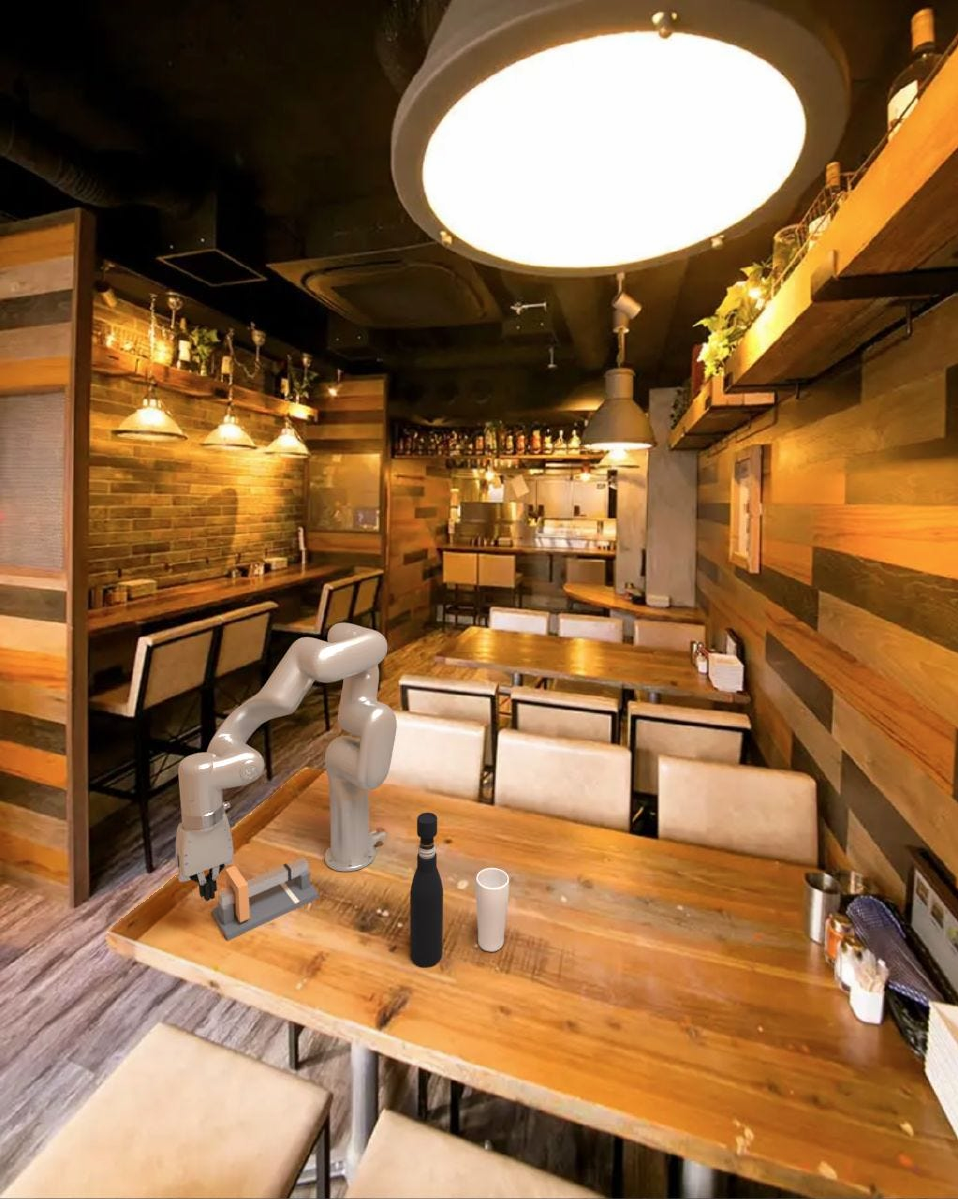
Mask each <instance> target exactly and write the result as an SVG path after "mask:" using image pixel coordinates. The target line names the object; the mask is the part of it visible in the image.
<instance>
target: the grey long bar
mask: <svg viewBox="0 0 958 1199" xmlns="http://www.w3.org/2000/svg"><path fill="white" fill-rule="evenodd" d="M309 870H310V869H309V861H308V860H307V859H306V858H305V857H304V856H302V857H301V858H298V859H296V860H294V861H291V862H289V863H284V864H282V865H281V866H279V867H277V868H274V869H271V870H269V871H267V872H265V873H262V874H260V875H257V876H255V877H252V878H250V879H248V880H245V881H246V882H247V883H248V891H249V897H251V896H253V895H256V894H258V893H260V892H263V891H265V890H267V889H269V888H272V887H274V886H276V885H279V884H281V883H283V882H286V881H290V880H292V879H293V878H295V877H297V876H299V875H302V874H304V873H306V872H310V871H309ZM217 896H218V901H219V904H220V905H221V907H222V909H223V908H226V907H228V906H230V905H233V904H235V903H236V898H235V891H234V890H233V888H232V887H230V888H228V889H227V888H226V889H224V890H221V891H219V892H218V894H217Z"/></svg>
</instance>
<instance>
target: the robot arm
mask: <svg viewBox="0 0 958 1199" xmlns="http://www.w3.org/2000/svg"><path fill="white" fill-rule="evenodd" d="M387 652H388V642H387V639H386V638H385V636H384V635H383V634H382V633H381V632H379V631H377V630H374V629H371V628H367V627H364V626H361V625H357V624H354V623H350V622H339V623H335V624H334V625H332V626H331V627H330V628H329V630H328V633H327V641H325V640H322V639H318V638H314V637H309V636H306V637H300V638H297V640H295V641H294V642H293V643H292V644H291V645H290V647H289V648H288V650H287V651H286V653H285V654H284V656H283V657H282V659H281V660H280V661H279V663H278V665H277V666H276V668H275V669H274V670H273V672H272V673H271V675H270V676H269V678H268V680H266V683H265V684H264V686H263V687H262V688H261V689H260V690H259V692H257V693H256V694H255V695H253V696H251V697H250V698H249V699H247V700H246V701H245V702H243V703H242V704H241V705H240V706H238V707H236V708H235V709H234V710H233V711H231V713H230V714H229V715H228V716H226V718H225V719H224V721H223V722H222V724H220V727H219V728H217V729H218V730H216V732H215V734H214V735H213V737H212V739H211V740H210V742H209V744H208V747H207V749H206V752H197V753H193V754H191V755H188V756H186V757H184V758H182V760H181V761H180V762H179V764H178V768H177V770H178V771H177V774H178V785H179V786H178V788H179V799H180V811H181V813H180V814H181V822H180V823H179V824H178V825H177V828H176V838H175V864H176V867H177V869H178V871H177V879H178V882H180V883H182V882H188V881H193V882H195V883H197V884H198V891H199V896H200V897H201V898H204V900H205V902H209V901H210V900H215V899H216V895H215V894H216V893H215V892H217V890H218V886H217V884H218V883H217V880H218V879H219V875H220V874H221V872H222V871H223V869H224V868H225V867H227V866H228V865H230V864H232V863H234V861H235V856H234V852H235V850H234V842H233V836H232V832H231V830H232V829H231V826H230V822H229V819H228V815H227V813H226V810H227V809H230V808H231V802H230V801H229V800H228V801H223V789H229V788H236V787H241V786H245V785H249V784H251V783H253V782H255V781H256V780H258V779H259V777H260V776H262V774H263V772H264V770H265V760H264V757H263V756H262V754H261V753H260V752H259V751H257V750H256V749H255V748H253V747H251V746H250V745H248V744H247V741H248V740H249V738H251V736H252V734H253V733H254V732H255V731H256V730H257V729H258V728H259V727H260V726H261V725H262V724H264V723H266V722H268V721H269V720H272V719H276V718H280V717H283V716H288V715H291V714H293V713H294V712H295V711H296V710H297V709H298V708H299V705H300V704H301V702H302V701H303V699H304V698H305V697H306V694H307V693H308V691H309V690H310V688H311V687H312V685H313V683H314V682H315V681H318V682H321V683H326V684H327V683H334V682H338V681H343V683H342V688H341V694H340V700H339V705H338V712H337V713H338V714H337V723H338V725H339V727H340V728H341V729H342V730H344V731H345V732H347V733H349V734H351V735H353V736H354V737H353V736H349V735H341V736H338V737H335V738H334V739H333V740H331V741H330V743H329V744H328V746H327V748H326V749H325V754H324V765H325V771H326V775H327V781H328V788H329V789H328V790H329V792H328V793H329V823H330V824H329V825H330V845H329V847H327V849H326V851H325V853H324V862H325V864H326V865H327V867H329V868H330V869H333V870H335V871H338V872H346V873H347V872H354V871H358V870H361V869H363V868H366V867H368V866H369V865H370V864H371V863H372V862H373V861H374V860H375V858H376V855H377V854H376V853H377V852H376V850H377V849H376V847H375V845H377V843H378V842H381V841H383V840H385V839H387V833H386V832H385V831H384V830H383V831H381V832H378V833H377V830H376V829H373V830H371V831H370V791H373V790H376V789H378V788H379V787H381V786H382V785H383V784H384V782H385V781H386V779H387V776H388V774H389V772H390V768H391V762H392V758H393V752H394V746H395V741H396V735H397V728H398V726H397V725H398V724H397V717H396V713H395V712H394V710H393V709H392V708H391V707H390V706H389V705H388V704H385V703H383V702H382V701H378V690H379V689H378V688H379V682H380V681H379V680H380V670H379V664H380V663H381V662H382V661H383V660H384V659H385V658H386V655H387ZM356 737H357V738H356ZM205 871H207V872H208V873H207V874H206V875H205Z"/></svg>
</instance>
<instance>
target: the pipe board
mask: <svg viewBox="0 0 958 1199" xmlns="http://www.w3.org/2000/svg"><path fill="white" fill-rule="evenodd" d="M319 893H320V892H319V891H317V889H315V887H314V886H313V885H312V884H311V873H310V871H309V872H306V873H304V874H302V875H299V876H297V877H295V878H293V879H292V880H290V881H286V882H283V883H281V884H279V885H276V886H274V887H272V888H269V889H267V890H265V891H263V892H260V893H258V894H256V895H253V896H251V897H249V909H250V918H249V919H247V920H245V921H243V922H241V923H240V921H239V920H238V918H237V917H236V915H235V913H234V906H233V905H230V906H228V907H226V908H223V909H222V907H221V905H220V904H219V900H218V901H217V906H215V907H213V908H211V914H212V917H213V918H214V920H215V922H216V923H217V926H219V929H220V931H221V933H222V934H223V936H224V937H225V939H226V940H227V941H230V940H233V939H234V938H235V939H236V938H237V937H239V936H240V935H243V934H245V933H247V932H250V931H251V930H254V929H256V928H258V927H260V926H263V925H264V924H266V923H268V922H270V921H273V920H275V919H277V918H279V917H281V916H283V915H285V914H288V913H290V912H292V911H295V910H296V909H298V908H300V907H302V906H305V905H306V904H309V903H311V902H313V901H316V900H317V899H319V896H320V894H319Z"/></svg>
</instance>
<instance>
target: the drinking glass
mask: <svg viewBox="0 0 958 1199" xmlns="http://www.w3.org/2000/svg"><path fill="white" fill-rule="evenodd" d="M475 878H476V879H475V907H476V921H477V922H476V923H477V924H476V925H477V942H478V943H477V944H478V946H479V947H480V948H481V949H482V950H484V951H485V952H490V953H493V952H497V951H498V950H499V951H500V949H501V948H502V947H503V945H504V942H505V932H506V920H507V915H508V914H507V913H508V906H509V898H510V895H509V894H510V878H509V875H508V874H507V872H506V871H504V870H502V869H500V868H496V867H487V868H483V869H482V870H480V871H479V872H478V873H477V875H476V877H475Z"/></svg>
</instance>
